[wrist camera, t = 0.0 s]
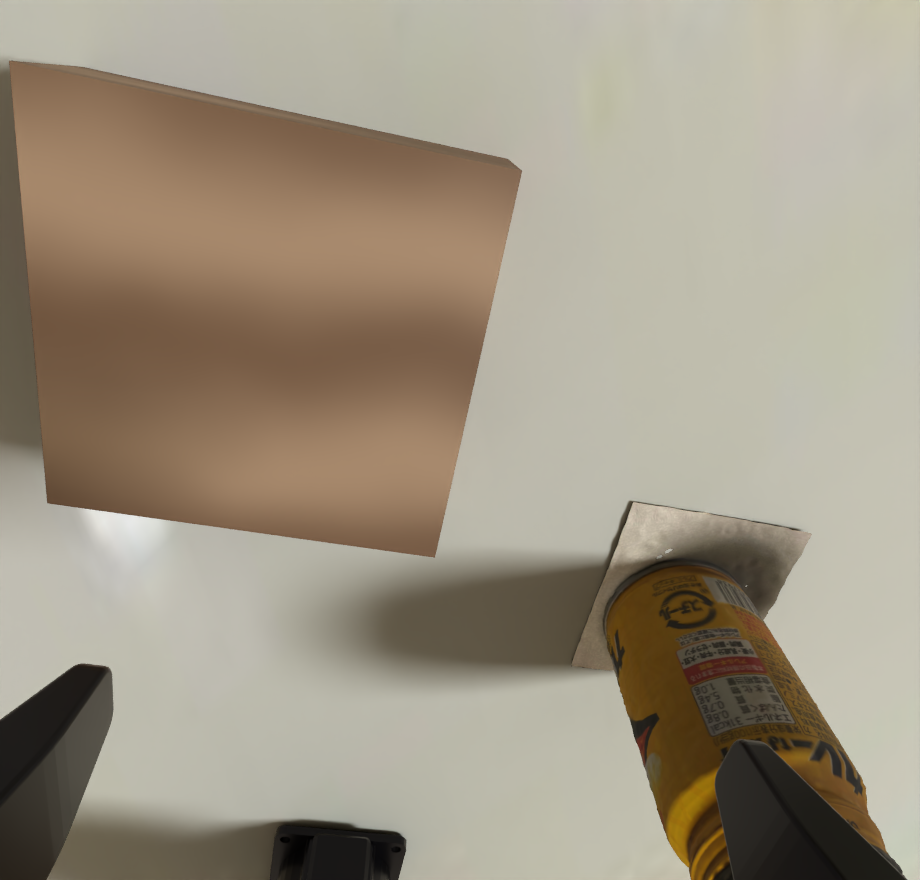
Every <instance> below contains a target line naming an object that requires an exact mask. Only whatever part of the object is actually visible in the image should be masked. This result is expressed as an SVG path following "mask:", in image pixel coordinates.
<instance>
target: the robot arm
mask: <svg viewBox="0 0 920 880" xmlns="http://www.w3.org/2000/svg"><path fill="white" fill-rule="evenodd" d="M112 716H113V686H112V672H111V670H110V668H109V667H106V666H100V665H92V664H78V665H75V666H73V667H72V668H70V669H69V670H68V671H66V672H65V673H64V674H62V675H61V676H59V677H58V678H57V679H55V680H54V681H53V682H51V683H50V684H48V685H47V686H46V687H44V688H43V689H42V690H40V691H39V692H38V693H36V694H35V695H33V696H32V697H31V698H29V699H28V700H27V701H25V702H24V703H23V704H21V705H20V706H18V707H17V708H16V709H14V710H13V711H12V712H10V713H9V714H7V715H6V716H5V717H3V718H2V719H1V720H0V880H46V879H47V878H48V876H49V874H50V872H51V870H52V868H53V866H54V864H55V862H56V860H57V858H58V855H59V853H60V851H61V849H62V847H63V845H64V843H65V840H66V838H67V835H68V833H69V831H70V828H71V826H72V823H73V821H74V818H75V815H76V813H77V810H78V808H79V805H80V802H81V800H82V797H83V795H84V792H85V790H86V787H87V784H88V782H89V779H90V777H91V774H92V771H93V769H94V766H95V764H96V761H97V758H98V756H99V753H100V751H101V748H102V746H103V743H104V740H105V738H106V735H107V733H108V730H109V727H110V724H111V721H112ZM715 793H716V798H717V802H718V807H719V812H720V817H721V822H722V826H723V831H724V836H725V841H726V846H727V850H728V855H729V860H730V865H731V870H732V874H733V879H734V880H907V879H906V878H905V877H904V876H903V875H902V874H901V873H900V872H899V871H898V870H897V869H896V868H895V867H894V866H893V865H892V864H891V863H889V862H888V861H887V860H886V859H885V858H884V857H883V856H882V855H881V854H880V853H879V852H878V851H877V850H876V849H875V848H874V847H873V846H872V845H871V844H870V843H869V842H868V841H867V840H866V839H865V838H864V837H863V836H862V835H861V834H859V833H858V832H857V831H856V830H855V829H854V828H853V827H852V826H851V825H850V824H849V823H848V822H847V821H846V820H845V819H844V818H843V817H842V816H841V815H840V814H839V813H838V812H837V811H836V810H835V809H834V808H833V807H832V806H831V805H830V804H828V803H827V802H826V801H825V800H824V799H823V798H822V797H821V796H820V795H819V794H818V793H817V792H816V791H815V790H814V789H813V788H812V787H811V786H810V785H809V784H808V783H807V782H806V781H805V780H804V779H803V778H802V777H801V776H800V775H799V774H797V773H796V772H795V771H794V770H793V769H792V768H791V767H790V766H789V765H788V764H787V763H786V762H785V761H784V760H783V759H782V758H781V757H780V756H779V755H778V754H777V753H776V752H775V751H774V750H773V749H772V748H771V747H769V746H768V745H767V744H765V743H764V742H761V741H754V740H746V739H738V740H736V741H735V742H734V743H733V744H732V746H731V747H730V749H729V751H728V753H727V755H726V756H725V758H724V760H723V762H722V764H721V765H720V767H719V769H718V771H717V773H716V777H715ZM405 852H406V839H405V838H404V837H402V836H397V835H386V834H375V833H364V832H353V831H342V830H331V829H320V828H309V827H297V826H281V827H279V828H278V829H277V831H276V836H275V841H274V849H273V857H272V865H271V874H270V880H398V878H399V875H400V871H401V867H402V863H403V859H404V856H405Z"/></svg>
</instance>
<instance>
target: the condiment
mask: <svg viewBox="0 0 920 880" xmlns="http://www.w3.org/2000/svg"><path fill="white" fill-rule="evenodd" d="M810 536H811V533H807V532H802V531H796V530H791V529H789V528H785V527H778V526H773V525H768V524H763V523H755V522H751V521H748V520H742V519H736V518H730V517H724V516H717V515H713V514H710V513H706V512H703V513H701V512H692V511H685V510H680V509H675V508H670V507H661V506H654V505H647V504H642V503H636V502H633V504H632V507H631V510H630V512H629V516H628V519H627V521H626V524H625V526H624V528H623V530H622V533H621V536H620V539H619V543H618V546H617V548H616V550H615V552H614V555H613V557H612V560H611V563H610V566H609V569H608V570H607V572H606V575H605V578H604V580H603V582H602V585H601V587H600V589H599V592H598V594H597V597H596V599H595V602H594V605H593V607H592V610H591V613H590V615H589V617H588V620H587V623H586V626H585V628H584V630H583V633H582V636H581V640H580V642H579V644H578V646H577V649H576V652H575V655H574V658H573V662H572V666H577V667H583V668H593V669H603V670H614V671H615V674H616V676H617V680H618V685H619V687H620V692H621V693H622V697H623V699H624V705H625V706H626V711H627V714H628V716H629V718H630V721H631V725H632V728H633V734H634V737H635V740H636V743H637V744H638V747H639V750H640V754H641V757H642V761H643V765H644V767H645V770H646V772H647V778H648V780H649V783H650V788H651V790H652V792H653V795H654V798H655V801H656V805H657V810H658V813H659V816H660V819H661V822H662V824H663V828H664V831H665V833H666V836H667V839H668V841H669V843H670V845H671V847H672V848H673V850H674V851H675V853H676V854H677V856H678V857H679V858H680V860H681V861H682V862H683V863H684V864H685V865H686V866H687V867H689V873H690V877H691V880H734V879H733V874H732V870H731V865H730V860H729V855H728V850H727V846H726V841H725V836H724V831H723V826H722V822H721V817H720V812H719V807H718V802H717V798H716V793H715V777H716V773H717V771H718V769H719V767H720V765H721V764H722V762H723V760H724V758H725V756H726V755H727V753H728V751H729V749H730V747H731V746H732V744H733V743H734V742H735V741H736V740H738V739H746V740H754V741H761V742H764V743H765V744H767V745H768V746H769V747H771V748H772V749H773V750H774V751H775V752H776V753H777V754H778V755H779V756H780V757H781V758H782V759H783V760H784V761H785V762H786V763H787V764H788V765H789V766H790V767H791V768H792V769H793V770H794V771H795V772H796V773H797V774H799V775H800V776H801V777H802V778H803V779H804V780H805V781H806V782H807V783H808V784H809V785H810V786H811V787H812V788H813V789H814V790H815V791H816V792H817V793H818V794H819V795H820V796H821V797H822V798H823V799H824V800H825V801H826V802H827V803H828V804H830V805H831V806H832V807H833V808H834V809H835V810H836V811H837V812H838V813H839V814H840V815H841V816H842V817H843V818H844V819H845V820H846V821H847V822H848V823H849V824H850V825H851V826H852V827H853V828H854V829H855V830H856V831H857V832H858V833H859V834H861V835H862V836H863V837H864V838H865V839H866V840H867V841H868V842H869V843H870V844H871V845H872V846H873V847H874V848H875V849H876V850H877V851H878V852H879V853H880V854H881V855H882V856H883V857H884V858H885V859H886V860H887V861H888V862H889V863H891V864H892V865H893V866H894V867H895V868H896V869H897V870H898V871H899V872H900V873H901V874H902V872H903V871H902V870H901V868H900V866H899V865H898V864H897V863H896V862H895V860H894V859H892V858H891V857H890V856H889V854H888V853H887V852H886V849H885V845H884V842H883V839H882V837H881V833H880V831H879V829H878V828H877V826H876V825H875V823H874V822H873V821H872V820H871V818H870V816H869V815H868V810H867V796H866V787H865V785H864V784H863V780H862V778H861V776H860V775H859V773H858V772H857V770H856V768H855V767H854V765H853V763H852V762H851V760H850V759H849V757H848V755H847V754H846V752H845V751H844V749H843V747H842V746H841V744H840V742H839V740H838V739H837V738H836V736H835V734H834V733H833V731H832V730H831V728H830V726H829V725H828V723H827V722H826V720H825V719H824V717H823V715H822V713H821V712H820V710H819V709H818V707H817V705H816V704H815V703H814V701H813V699H812V698H811V696H810V694H809V693H808V691H807V690H806V688H805V686H804V685H803V683H802V682H801V680H800V678H799V677H798V675H797V674H796V672H795V670H794V669H793V667H792V666H791V664H790V662H789V661H788V659H787V658H786V656H785V654H784V653H783V651H782V649H781V648H780V646H779V645H778V643H777V641H776V640H775V639H774V637H773V635H772V634H771V632H770V630H769V629H768V627H767V626H766V624H765V623H764V621H763V620H764V618H765V617H766V615H767V614H768V611H769V609H770V608H771V607H772V606H773V605H774V603H775V601H776V600H777V596H778V594H779V592H780V590H781V588H782V586H783V585H784V584H785V581H786V578H787V576H788V575H789V573H790V571H791V569H792V567H793V566H794V564H795V563H796V562H797V560H798V559H799V557H800V556H801V555H802V553H803V550H804V548H805V546H806V544H807V542H808V540H809V538H810ZM668 549H673V550H672V551H671V552H669V553H666V554H665V551H666V550H668ZM659 555H662V556H663V557H662V558H660V559H657V556H659ZM746 585H748V586H747V587H745V586H746ZM902 875H903V874H902ZM903 876H904V875H903ZM904 877H905V876H904Z"/></svg>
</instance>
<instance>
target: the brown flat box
mask: <svg viewBox="0 0 920 880" xmlns="http://www.w3.org/2000/svg"><path fill="white" fill-rule="evenodd" d="M9 65H10V76H11V88H12V99H13V111H14V122H15V134H16V146H17V157H18V169H19V180H20V192H21V203H22V215H23V227H24V238H25V250H26V261H27V273H28V284H29V296H30V307H31V319H32V331H33V342H34V354H35V365H36V377H37V388H38V400H39V412H40V423H41V435H42V446H43V458H44V469H45V481H46V492H47V503H50V504H57V505H64V506H71V507H78V508H85V509H92V510H99V511H107V512H114V513H121V514H128V515H135V516H142V517H149V518H157V519H164V520H171V521H178V522H185V523H192V524H199V525H207V526H214V527H221V528H228V529H235V530H242V531H249V532H257V533H264V534H271V535H278V536H285V537H292V538H299V539H307V540H314V541H321V542H328V543H335V544H342V545H349V546H357V547H364V548H371V549H378V550H385V551H392V552H399V553H406V554H414V555H421V556H428V557H435V554H436V550H437V546H438V541H439V537H440V532H441V528H442V523H443V519H444V515H445V510H446V506H447V501H448V497H449V492H450V488H451V484H452V479H453V475H454V470H455V466H456V461H457V457H458V452H459V448H460V444H461V439H462V435H463V430H464V426H465V421H466V417H467V413H468V408H469V404H470V399H471V395H472V390H473V386H474V382H475V377H476V373H477V368H478V364H479V359H480V355H481V351H482V346H483V342H484V337H485V333H486V328H487V324H488V319H489V315H490V311H491V306H492V302H493V297H494V293H495V288H496V284H497V280H498V275H499V271H500V266H501V262H502V257H503V253H504V249H505V244H506V240H507V235H508V231H509V226H510V222H511V218H512V213H513V209H514V204H515V200H516V195H517V191H518V186H519V182H520V178H521V173H522V170H520V169H519V168H518V167H517V166H516V165H514V164H513V163H512V162H511V161H509V160H508V159H505V158H501V157H496V156H491V155H487V154H482V153H478V152H473V151H468V150H464V149H459V148H454V147H450V146H445V145H441V144H436V143H431V142H427V141H422V140H417V139H413V138H408V137H404V136H399V135H394V134H390V133H385V132H380V131H376V130H371V129H367V128H362V127H357V126H353V125H348V124H343V123H339V122H334V121H330V120H325V119H320V118H316V117H311V116H306V115H302V114H297V113H293V112H288V111H283V110H279V109H274V108H270V107H265V106H260V105H256V104H251V103H246V102H242V101H237V100H233V99H228V98H223V97H219V96H214V95H209V94H205V93H200V92H196V91H191V90H186V89H182V88H177V87H172V86H168V85H163V84H159V83H154V82H149V81H145V80H140V79H135V78H131V77H126V76H122V75H117V74H112V73H108V72H103V71H98V70H94V69H89V68H85V67H76V66H64V65H53V64H41V63H29V62H18V61H9Z"/></svg>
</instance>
